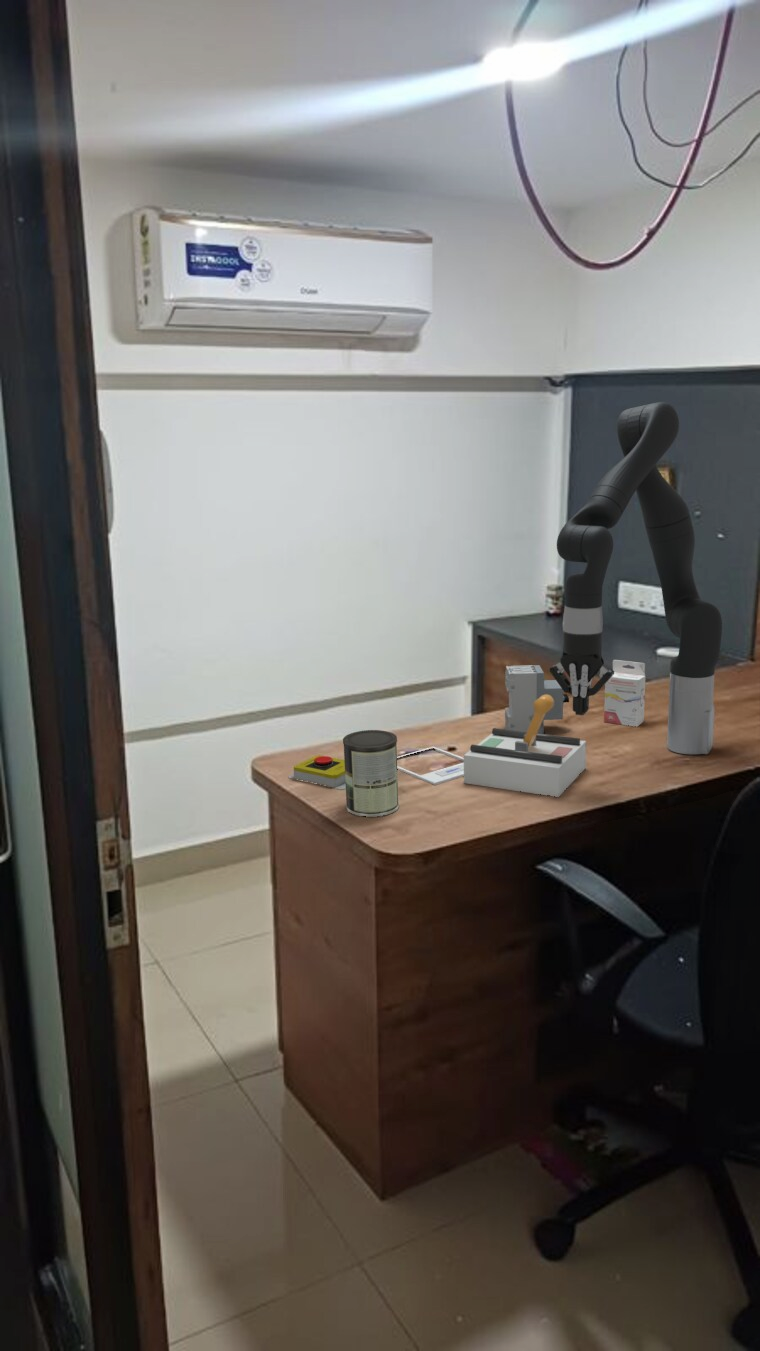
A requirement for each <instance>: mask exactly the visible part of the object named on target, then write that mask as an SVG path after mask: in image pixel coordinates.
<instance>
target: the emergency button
mask: <svg viewBox="0 0 760 1351" xmlns="http://www.w3.org/2000/svg"><path fill="white" fill-rule="evenodd" d="M290 778H292V779H291V780H294V779H298V780H303V781H308V782H313V783H317V784H321V785H326V786H328V787H327V788H330V787H333V788H332V789H334V788H337V789H336V790H339V789H341V790H340V791H344V790H343V789H345V790H346V781H345V760H344V759H340V758H336V757H332V756H325V755H320V754H318V755H317V754H316V755H315V756H312V757H311V758H308V759H306V760H304V761H302V762H300V763H297V764H296V765H294V766H293V773H292V774H290V775H288V779H290ZM298 780H297V781H298ZM303 781H302V782H303ZM321 785H320V786H321Z"/></svg>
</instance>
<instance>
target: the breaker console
mask: <svg viewBox="0 0 760 1351" xmlns="http://www.w3.org/2000/svg"><path fill="white" fill-rule="evenodd" d="M526 733H527V732H522V731H514V730H506V728H505V729H504V728H496V727H493V728H492V730H491V733H490V734H489V735H488V736H487V737H485V738H484V739H483V740H482V741H480V742H479V743H478V744H473V743H472V744H470V748H469V751H467V752H466V753H465V754H463V758H464V761H463V763H464V776H463V784H467V785H468V784H469V785H476V786H482V787H483V786H484V787H488V788H489V787H490V788H495V789H501V790H507V791H508V790H509V791H514V792H520V791H521V793H526V794H527V793H528V794H536V795H540V794H541V796H547V795H550V796H549V797H554V796H555V797H556V798H559V797H560V796H561V795H562V794H563V793H564V792H565V791H566V790H567V789H568V788H569V786H571V784H572V783H573V782H574V781H575V780H576V779H577V778H578V777H579V776H580V775H581V774H582V772H584V770H586V760H587V759H586V757H587V756H586V755H587V754H586V753H587V752H586V751H587V741H586V740H581V738H578V737H570V736H564V735H563V736H561V735H552V734H539V733H537V735H536V737H535V740H534V742H533V744H532V745H530V746H529V747H528V742H523V741H524V738H525V736H526ZM580 773H581V774H580ZM579 774H580V775H579ZM566 788H567V789H566ZM564 790H565V791H564Z"/></svg>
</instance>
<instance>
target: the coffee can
mask: <svg viewBox="0 0 760 1351" xmlns="http://www.w3.org/2000/svg"><path fill="white" fill-rule="evenodd" d="M342 743H343V754H344V755H343V756H344V759H343V760H345V781H346V789H345V797H346V798H345V799H346V806H345V807H346V811H347V812H348V813H349V812H350V813H349V814H351V813H352V814H351V815H353V814H355V815H354V816H356V815H359V816H358V817H361V816H366V817H365V818H376V817H377V816H380V817H384V816H383V815H385V816H387V815H391V814H393V813H394V812H396V811H397V810H398V809H399V806H400V804H399V786H398V785H399V783H398V778H399V777H398V770H397V766H398V759H397V757H398V753H397V752H398V750H397V749H398V748H397V743H398V737H397V735H396V734H395V733H392V732H390V731H386V730H380V729H379V730H378V729H368V730H365V729H364V730H359V731H355V732H350V733H348V734H346V735H345V736H344V737H343V739H342ZM377 818H378V817H377Z"/></svg>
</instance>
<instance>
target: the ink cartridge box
mask: <svg viewBox="0 0 760 1351" xmlns="http://www.w3.org/2000/svg"><path fill="white" fill-rule="evenodd" d="M628 665H629V666H630V667H634V668H629V667H624V666H628ZM612 670H613V671H614V675H613V676H612V677H611V678H610V679H609V680H608V681H607V682H606V684H605V685H604V708H603V709H604V710H603V713H604V714H603V723H609V724H614V725H615V724H616V725H622V726H628V725H629V726H630V727H635V726H636V728H637V727H639V726H640V725H641V724H642V723H643V722H644V720H645V719H644V718H645V699H646V698H645V696H646V693H645V692H646V678H647V677H646V663H644V662H637V661H629V660H621V659H620V660H619V659H613V660H612Z"/></svg>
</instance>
